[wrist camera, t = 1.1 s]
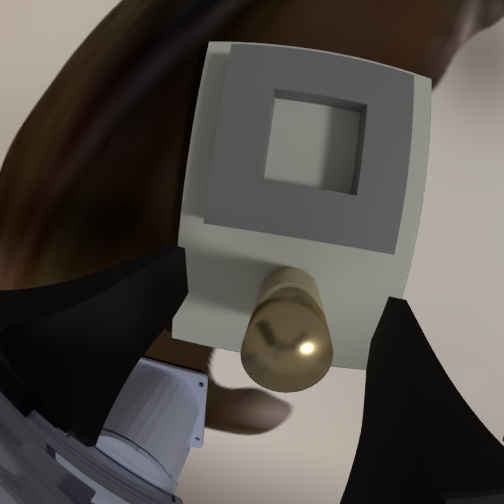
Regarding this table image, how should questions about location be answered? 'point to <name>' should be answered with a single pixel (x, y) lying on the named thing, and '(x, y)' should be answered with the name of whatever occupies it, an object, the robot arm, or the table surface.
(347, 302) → the socket plate
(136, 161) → the table surface
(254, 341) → the brass rounded knob
